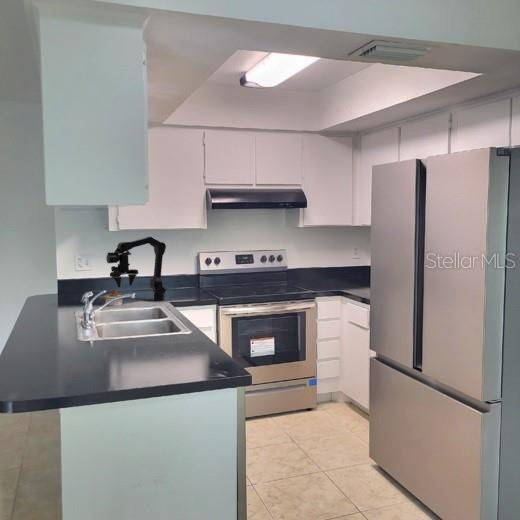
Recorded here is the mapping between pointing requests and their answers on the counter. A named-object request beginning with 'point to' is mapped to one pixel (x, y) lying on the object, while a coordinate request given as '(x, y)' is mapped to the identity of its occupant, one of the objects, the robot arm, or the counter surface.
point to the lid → (113, 295)
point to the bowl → (115, 302)
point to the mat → (140, 304)
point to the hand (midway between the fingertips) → (124, 286)
